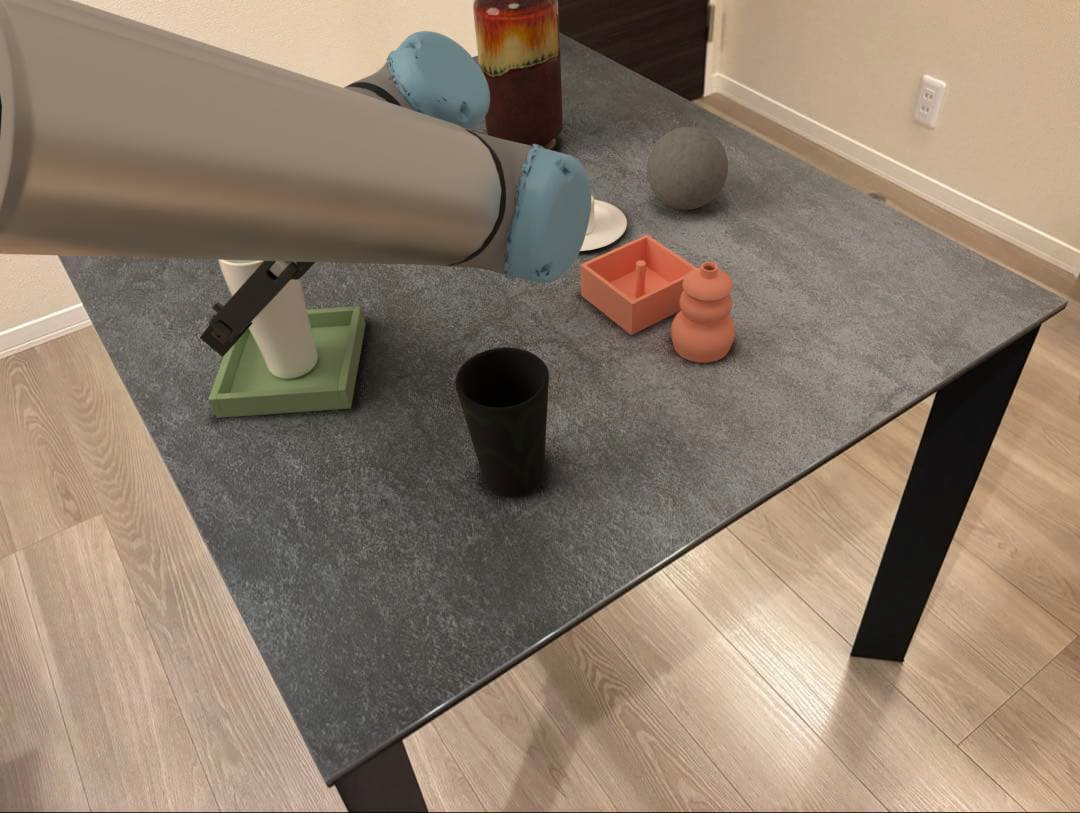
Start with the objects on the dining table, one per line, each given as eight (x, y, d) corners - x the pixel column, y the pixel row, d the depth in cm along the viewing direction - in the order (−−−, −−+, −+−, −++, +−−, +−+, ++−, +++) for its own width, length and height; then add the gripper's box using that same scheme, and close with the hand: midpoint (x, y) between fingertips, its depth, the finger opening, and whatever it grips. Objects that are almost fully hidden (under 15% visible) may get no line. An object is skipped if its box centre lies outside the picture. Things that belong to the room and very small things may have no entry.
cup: (568, 456, 77) (564, 359, 68) (534, 517, 72) (524, 420, 63) (495, 434, 79) (481, 338, 71) (456, 491, 74) (437, 395, 66)
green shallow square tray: (216, 418, 83) (207, 399, 81) (245, 332, 93) (238, 314, 91) (351, 408, 83) (345, 389, 81) (365, 323, 93) (360, 305, 91)
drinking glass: (310, 335, 91) (271, 216, 80) (337, 367, 87) (299, 246, 76) (252, 361, 88) (204, 241, 78) (276, 395, 84) (229, 274, 74)
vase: (477, 161, 118) (453, -38, 100) (502, 126, 126) (484, -65, 107) (551, 168, 115) (540, -35, 97) (572, 132, 123) (566, -63, 105)
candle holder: (572, 194, 110) (570, 164, 107) (645, 222, 104) (647, 192, 101) (511, 235, 104) (508, 204, 101) (586, 267, 98) (586, 236, 95)
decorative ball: (738, 213, 104) (748, 138, 97) (668, 232, 102) (672, 158, 95) (699, 177, 111) (705, 106, 104) (632, 195, 109) (634, 123, 102)
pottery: (581, 295, 94) (579, 220, 87) (645, 265, 98) (648, 190, 91) (687, 380, 83) (694, 301, 76) (756, 342, 87) (768, 264, 80)
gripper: (304, 310, 61) (208, 411, 76) (452, 152, 77) (348, 261, 92) (222, 237, 59) (139, 355, 73) (391, 90, 75) (296, 212, 90)
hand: (255, 303), depth 83 cm, fingers open, 13 cm apart
